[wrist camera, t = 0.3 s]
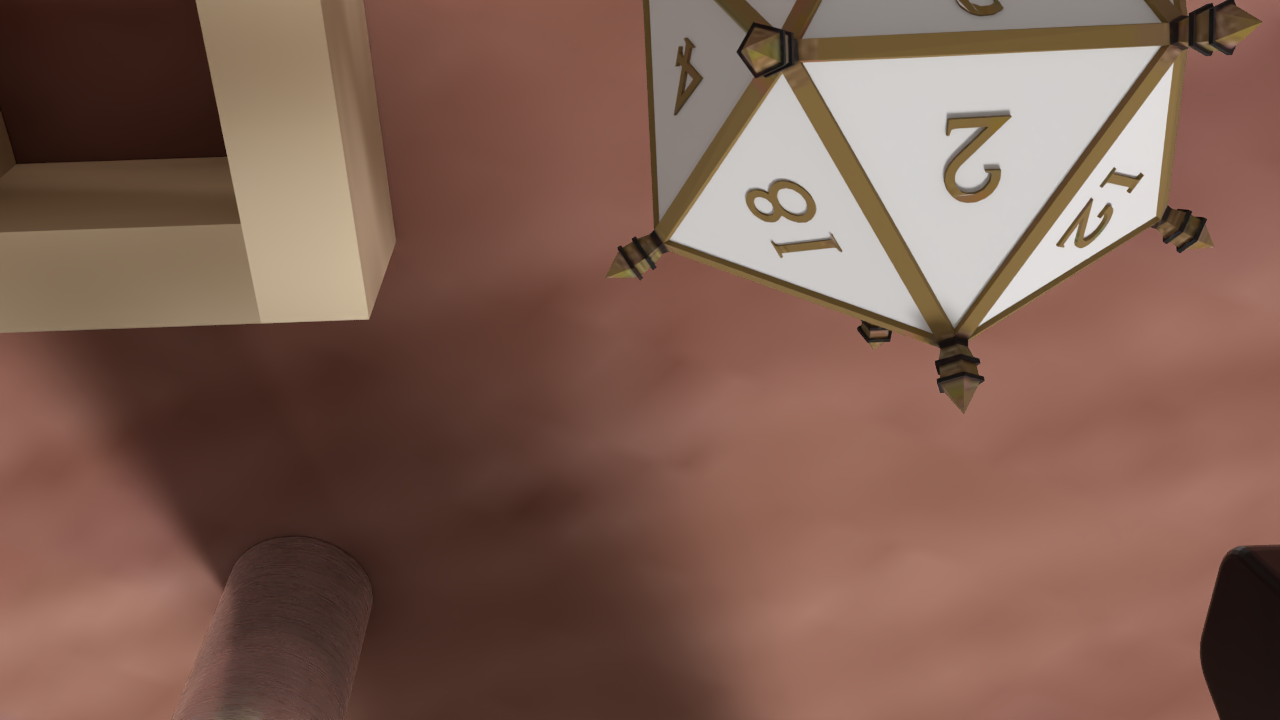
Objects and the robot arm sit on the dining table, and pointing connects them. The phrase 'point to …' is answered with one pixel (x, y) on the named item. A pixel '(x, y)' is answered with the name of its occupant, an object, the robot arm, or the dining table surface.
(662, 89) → the game die
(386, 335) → the dining table surface
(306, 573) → the steel pin
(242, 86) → the oak block
